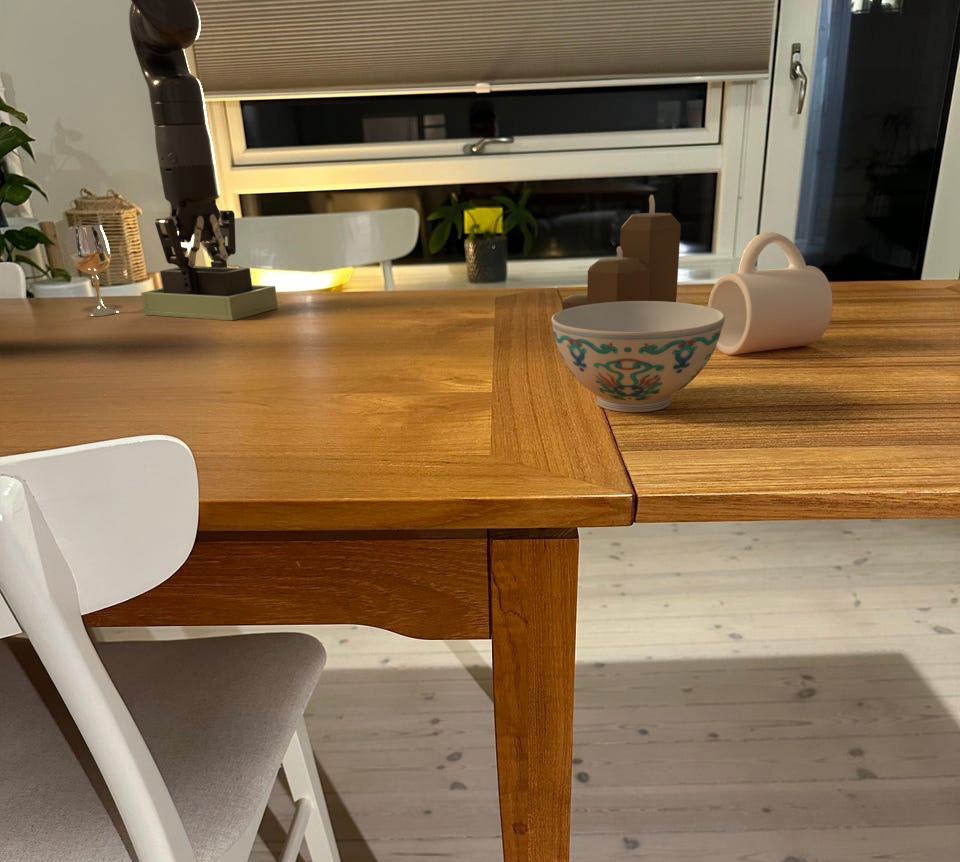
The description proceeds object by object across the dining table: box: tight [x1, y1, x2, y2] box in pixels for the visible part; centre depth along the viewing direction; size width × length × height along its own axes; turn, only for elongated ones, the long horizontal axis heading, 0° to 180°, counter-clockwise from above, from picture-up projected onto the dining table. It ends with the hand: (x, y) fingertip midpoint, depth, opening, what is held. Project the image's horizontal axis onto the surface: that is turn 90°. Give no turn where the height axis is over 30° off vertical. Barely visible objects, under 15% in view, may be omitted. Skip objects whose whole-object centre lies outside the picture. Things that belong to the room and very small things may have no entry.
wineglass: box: [66, 224, 119, 317], centre depth 140 cm, size 6×6×12 cm
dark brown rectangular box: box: [159, 265, 253, 296], centre depth 139 cm, size 12×6×4 cm, turn 63°
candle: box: [561, 194, 682, 311], centre depth 113 cm, size 14×14×15 cm
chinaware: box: [551, 301, 725, 413], centre depth 86 cm, size 15×15×8 cm
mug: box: [707, 231, 834, 356], centre depth 102 cm, size 8×10×12 cm
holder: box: [140, 284, 279, 322], centre depth 140 cm, size 17×10×3 cm, turn 63°
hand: (207, 291), depth 139 cm, fingers closed on dark brown rectangular box, 5 cm apart
